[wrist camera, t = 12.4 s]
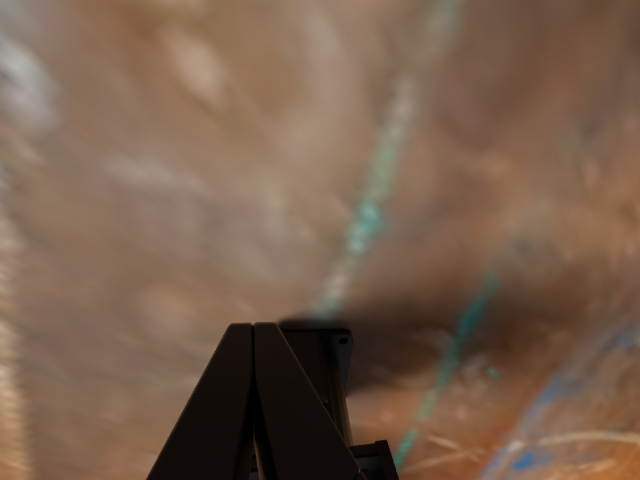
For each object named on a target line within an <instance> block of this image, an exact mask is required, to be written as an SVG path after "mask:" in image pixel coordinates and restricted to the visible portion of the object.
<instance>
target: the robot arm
mask: <svg viewBox="0 0 640 480" xmlns="http://www.w3.org/2000/svg"><path fill="white" fill-rule="evenodd" d="M341 338H343V339H341ZM352 343H353V338H352V333H351V331H350V330H348V329H318V330H285V331H281V330H280V329H279V327H278V325H277V324H276V323H274V322H257V323H255V324H254V325H252V324H251V323H232V324H230V325H229V326H228V328H227V330H226V332H225V333H224V335H223V337H222V339H221V341H220V343H219V345H218V346H217V348H216V350H215V352H214V354H213V356H212V358H211V359H210V361H209V363H208V365H207V367H206V369H205V371H204V372H203V374H202V376H201V378H200V380H199V382H198V384H197V385H196V387H195V389H194V391H193V393H192V395H191V397H190V398H189V400H188V402H187V404H186V406H185V408H184V410H183V411H182V413H181V415H180V417H179V419H178V421H177V423H176V424H175V426H174V428H173V430H172V432H171V434H170V436H169V437H168V439H167V441H166V443H165V445H164V447H163V449H162V451H161V452H160V454H159V456H158V458H157V460H156V462H155V464H154V465H153V467H152V469H151V471H150V473H149V475H148V477H147V478H146V480H399V478H398V475H397V471H396V468H395V465H394V462H393V459H392V455H391V452H390V449H389V446H388V443H387V440H380V441H375V443H372V444H365V445H357V446H354V445H353V439H352V434H351V428H350V422H349V416H348V411H347V405H346V399H345V393H344V391H345V385H346V379H347V373H348V367H349V361H350V355H351V349H352Z"/></svg>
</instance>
